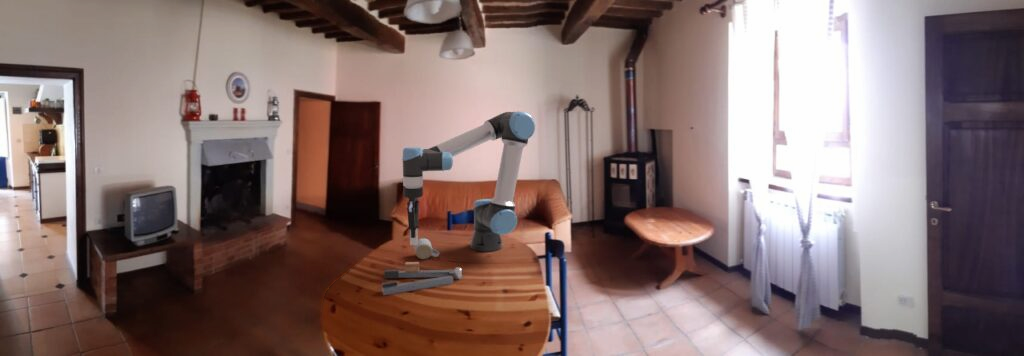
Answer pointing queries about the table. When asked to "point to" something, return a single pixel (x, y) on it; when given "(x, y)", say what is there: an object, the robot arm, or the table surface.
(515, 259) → the table surface
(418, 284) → the tong fixed arm
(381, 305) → the table surface
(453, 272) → the tong arm
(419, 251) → the ceramic mug
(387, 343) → the table surface
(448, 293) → the table surface
